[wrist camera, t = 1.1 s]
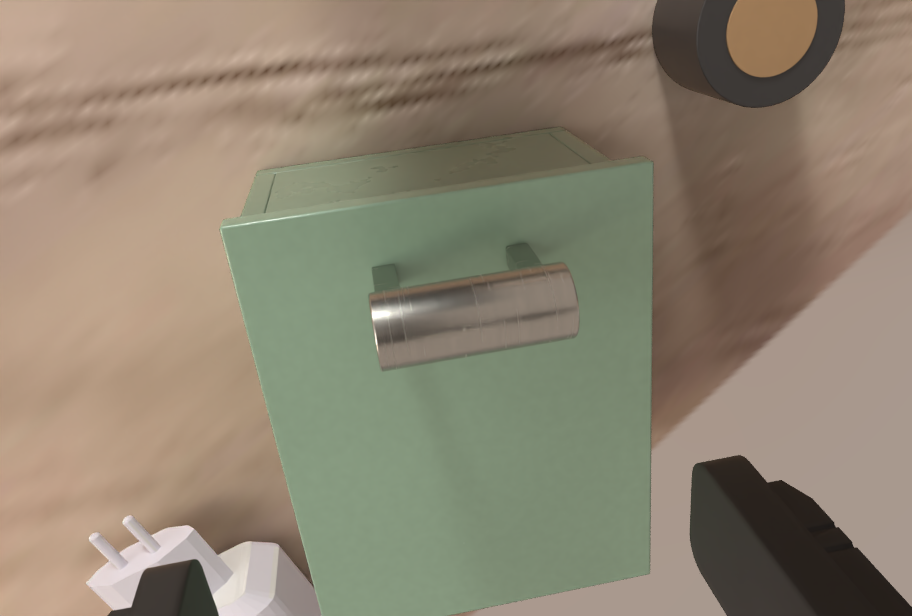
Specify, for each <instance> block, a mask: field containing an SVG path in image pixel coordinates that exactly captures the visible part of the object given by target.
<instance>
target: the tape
mask: <svg viewBox="0 0 912 616" xmlns="http://www.w3.org/2000/svg"><path fill="white" fill-rule="evenodd" d="M844 13H845V0H658V1H657V4H656V7H655V11H654V16H653V25H652V37H653V44H654V48H655V52H656V55H657V58H658V60H659V62H660V64H661V66H662V68H663V69H664V71H665V72H666V73H667V74H668V76H669V77H671V78H672V79H673V80H674V81H675V82H676V83H678V84H679V85H681V86H683V87H685V88H687V89H690V90H693V91H696V92H699V93H702V94H705V95H708V96H711V97H714V98H717V99H721V100H724V101H727V102H730V103H733V104H736V105H740V106H743V107H751V108H759V107H767V106H772V105H775V104H779V103H781V102H784V101H786V100H788V99H790V98H792V97H793V96H795V95H797V94H798V93H800V92H801V91H802V90H804V89H805V88H806V87H808V86H809V85H810V84H811V83H812V82H813V81H814V80H815V79H816V78H817V76H818V75H819V74H820V73H821V72H822V71H823V69H824V68H825V66H826V65H827V63H828V62H829V60H830V58H831V56H832V55H833V53H834V51H835V48H836V46H837V44H838V41H839V38H840V35H841V32H842V27H843V22H844Z"/></svg>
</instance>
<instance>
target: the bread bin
mask: <svg viewBox="0 0 912 616" xmlns="http://www.w3.org/2000/svg"><path fill="white" fill-rule="evenodd" d="M606 161H612V160H610V159H609V158H607V157H606V156H604V155H603V154H601V153H600V152H598V151H597V150H595V149H594V148H592V147H591V146H589V145H588V144H586V143H585V142H583V141H582V140H580V139H579V138H577V137H576V136H574V135H573V134H571V133H570V132H568V131H567V130H566V129H564V128H563V127H555V128H548V129H541V130H534V131H528V132H521V133H514V134H507V135H500V136H493V137H486V138H480V139H473V140H466V141H459V142H452V143H445V144H438V145H432V146H425V147H418V148H411V149H404V150H397V151H390V152H384V153H377V154H370V155H363V156H356V157H349V158H342V159H336V160H329V161H322V162H315V163H308V164H301V165H294V166H287V167H281V168H274V169H267V170H260V171H257V173H256V176H255V179H254V182H253V184H252V187H251V190H250V192H249V195H248V198H247V200H246V203H245V206H244V209H243V211H242V214H241V217H243V216H249V215H256V214H262V213H269V212H276V211H282V210H289V209H295V208H302V207H309V206H315V205H322V204H328V203H335V202H342V201H348V200H355V199H361V198H368V197H375V196H381V195H388V194H395V193H401V192H408V191H414V190H421V189H428V188H434V187H441V186H447V185H454V184H461V183H467V182H474V181H480V180H487V179H494V178H500V177H507V176H513V175H520V174H527V173H533V172H540V171H547V170H553V169H560V168H566V167H573V166H580V165H586V164H593V163H599V162H606Z"/></svg>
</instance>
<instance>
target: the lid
mask: <svg viewBox="0 0 912 616" xmlns="http://www.w3.org/2000/svg"><path fill="white" fill-rule="evenodd" d="M653 170H654V163H653V161H651V160H650V159H648V158H646V157H644V156H639V157H632V158H626V159H619V160H613V161H606V162H599V163H593V164H586V165H580V166H573V167H566V168H560V169H553V170H547V171H540V172H533V173H527V174H520V175H513V176H507V177H500V178H494V179H487V180H480V181H474V182H467V183H461V184H454V185H447V186H441V187H434V188H428V189H421V190H414V191H408V192H401V193H395V194H388V195H381V196H375V197H368V198H361V199H355V200H348V201H342V202H335V203H328V204H322V205H315V206H309V207H302V208H295V209H289V210H282V211H276V212H269V213H262V214H256V215H249V216H243V217H236V218H229V219H224V220H223V221H222V223H221V226H220V229H219V230H220V233H221V237H222V241H223V245H224V249H225V252H226V256H227V260H228V264H229V267H230V271H231V275H232V279H233V283H234V286H235V290H236V294H237V298H238V302H239V305H240V309H241V313H242V317H243V320H244V324H245V328H246V332H247V336H248V339H249V343H250V347H251V351H252V354H253V358H254V362H255V366H256V370H257V373H258V377H259V381H260V385H261V388H262V392H263V396H264V400H265V404H266V407H267V411H268V415H269V419H270V422H271V426H272V430H273V434H274V438H275V441H276V445H277V449H278V453H279V456H280V460H281V464H282V468H283V472H284V475H285V479H286V483H287V487H288V490H289V494H290V498H291V502H292V506H293V509H294V513H295V517H296V521H297V524H298V528H299V532H300V536H301V540H302V543H303V547H304V551H305V555H306V558H307V562H308V566H309V570H310V574H311V577H312V581H313V585H314V589H315V592H316V596H317V600H318V604H319V608H320V611H321V615H322V616H450V615H455V614H459V613H464V612H469V611H474V610H479V609H484V608H488V607H493V606H498V605H503V604H508V603H512V602H517V601H521V600H527V599H532V598H536V597H541V596H546V595H551V594H556V593H560V592H565V591H570V590H575V589H580V588H584V587H589V586H594V585H598V584H604V583H609V582H614V581H618V580H623V579H628V578H633V577H638V576H642V575H647V574H650V522H651V406H652V288H653Z"/></svg>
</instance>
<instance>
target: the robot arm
mask: <svg viewBox="0 0 912 616" xmlns="http://www.w3.org/2000/svg"><path fill="white" fill-rule="evenodd" d="M690 541H691V547H692V552H693V555H694V558H695V561H696V563H697V566H698V568H699V570H700V572H701V574H702V576H703V577H704V579H705V581H706V582H707V584H708V586H709V587H710V589H711V590H712V592H713V594H714V595H715V597H716V598H717V600H718V602H719V603H720V605H721V607H722V608H723V610H724V611H725V613H726V615H727V616H912V607H911V606H910V605H909V604H908V603H907V601H906V600H905V599H904V598H903V597H902V596H901V595H900V594H899V593H898V592H897V591H896V589H894V587H893V586H892V585H891V584H890V583H889V582H888V581H887V580H886V579H885V578H884V576H883V575H882V574H881V573H880V572H879V571H878V570H877V569H876V568H875V567H874V565H873V564H872V563H871V562H870V561H869V560H868V559H867V558H866V557H865V556H864V555H863V553H862V552H861V551H860V550H859V549H858V548H854V547H853V544H852V541H851V540H850V539H849V538H848V537H847V536H846V535H845V534H844V533H843V532H842V530H841V529H840V528H839V527H837V528H836V527H835V525H834V522H833V521H832V520H831V518H830V517H829V516H828V515H827V514H826V513H825V512H824V511H823V510H822V509H821V508H820V507H819V505H818V504H817V503H816V502H815V501H814V500H813V499H812V498H811V497H809V496H807V495H805V494H804V493H802V492H800V491H799V490H797V489H795V488H794V487H792V486H790V485H788V484H787V483H785V482H783V481H782V480H779V481H774V482H769V483H767V482H766V481H765V479H764V478H763V477H762V476H761V475H760V474H759V472H758V471H757V470H756V469H755V468H754V466H753V465H752V464H751V463H750V462H749V461H748V460H747V459H746V458H745V457H743V456H741V455H738V456H732V457H727V458H722V459H717V460H712V461H706V462H701V463H697V464H695V466H694V467H693V471H692V488H691V515H690ZM108 616H219V613H218V611H217V608H216V605H215V602H214V599H213V596H212V593H211V591H210V588H209V585H208V582H207V579H206V576H205V573H204V571H203V568H202V565H201V564H200V562H199V561H198V560H197V559H192V560H187V561H181V562H176V563H171V564H166V565H161V566H156V567H150V568H147V569H145V570H144V571H143V573H142V575H141V578H140V581H139V584H138V587H137V590H136V594H135V597H134V600H133V603H132V606H131V607H129V608H124V609H119V610H114V611H111V612H110V613H109V615H108Z"/></svg>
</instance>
